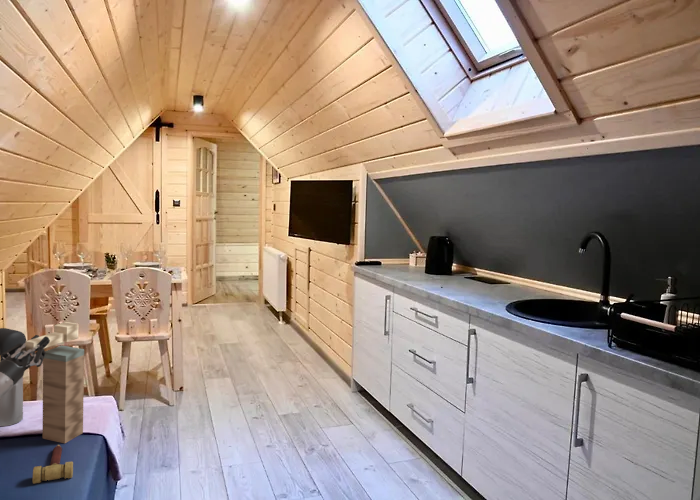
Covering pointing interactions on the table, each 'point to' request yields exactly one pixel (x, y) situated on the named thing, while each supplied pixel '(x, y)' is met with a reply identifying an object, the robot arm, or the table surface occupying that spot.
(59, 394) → the teal-capped wooden post
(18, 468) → the table surface
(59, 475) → the gavel
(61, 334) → the maple key
